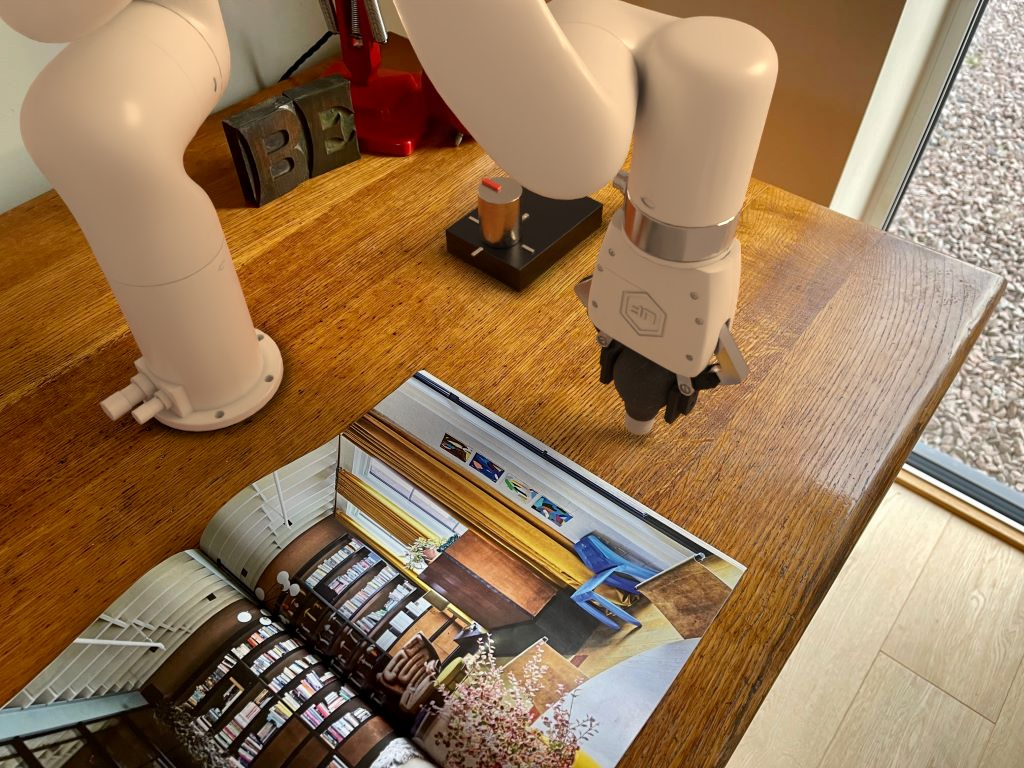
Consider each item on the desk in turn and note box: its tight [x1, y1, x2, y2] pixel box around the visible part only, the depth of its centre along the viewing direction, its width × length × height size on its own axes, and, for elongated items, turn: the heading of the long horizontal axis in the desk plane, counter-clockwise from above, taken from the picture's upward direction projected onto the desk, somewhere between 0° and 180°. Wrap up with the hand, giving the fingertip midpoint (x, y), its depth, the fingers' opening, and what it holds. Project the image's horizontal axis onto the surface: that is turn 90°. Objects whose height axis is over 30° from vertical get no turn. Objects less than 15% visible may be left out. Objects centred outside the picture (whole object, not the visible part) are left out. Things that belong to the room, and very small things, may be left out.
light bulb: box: [613, 347, 677, 436], centre depth 70 cm, size 6×6×10 cm
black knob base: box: [445, 185, 604, 293], centre depth 91 cm, size 15×10×3 cm, turn 140°
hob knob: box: [476, 176, 522, 248], centre depth 86 cm, size 4×4×6 cm
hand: (644, 391), depth 70 cm, fingers closed on light bulb, 5 cm apart
